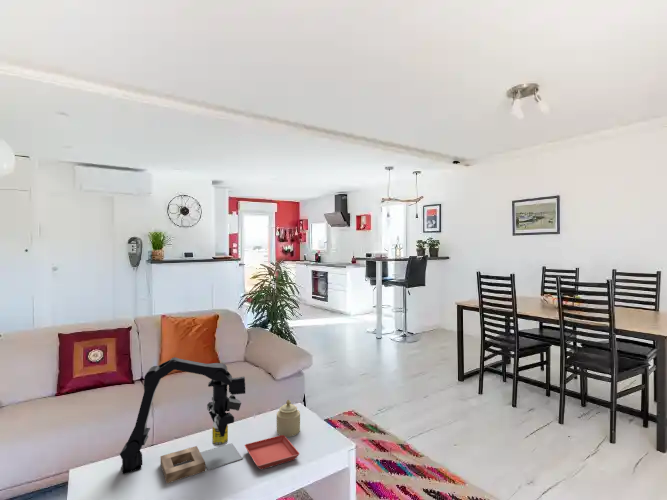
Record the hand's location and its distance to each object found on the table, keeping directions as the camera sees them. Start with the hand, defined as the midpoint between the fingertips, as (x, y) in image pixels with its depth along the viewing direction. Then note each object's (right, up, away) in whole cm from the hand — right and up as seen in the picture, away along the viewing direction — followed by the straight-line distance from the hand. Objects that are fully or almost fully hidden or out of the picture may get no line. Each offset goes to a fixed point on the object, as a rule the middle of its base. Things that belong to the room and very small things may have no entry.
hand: (220, 432), depth 158 cm
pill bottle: (0, -5, 0) cm, 5 cm away
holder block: (-12, -10, -8) cm, 18 cm away
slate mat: (0, -10, 0) cm, 10 cm away
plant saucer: (+21, -11, +1) cm, 24 cm away
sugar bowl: (+25, -10, +23) cm, 35 cm away
